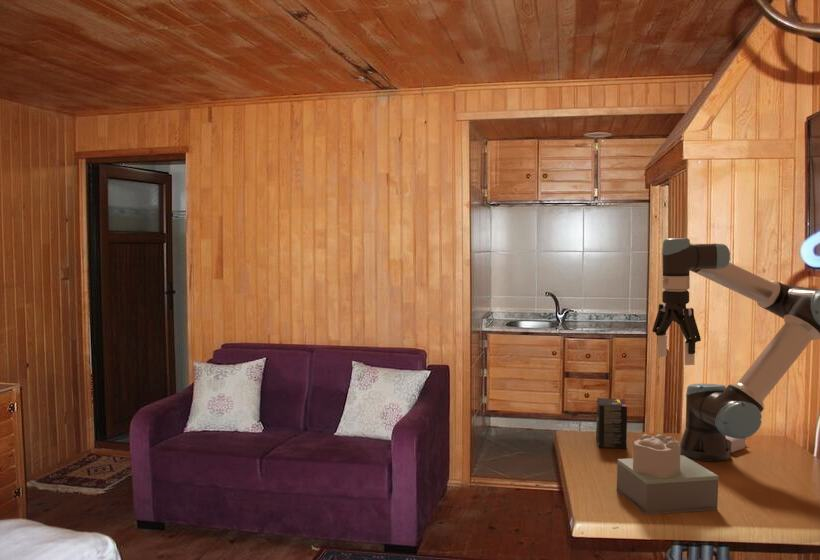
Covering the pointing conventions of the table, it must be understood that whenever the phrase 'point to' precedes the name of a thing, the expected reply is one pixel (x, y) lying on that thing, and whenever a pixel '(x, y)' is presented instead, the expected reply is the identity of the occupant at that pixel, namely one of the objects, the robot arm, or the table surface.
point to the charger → (735, 444)
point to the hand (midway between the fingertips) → (675, 360)
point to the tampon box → (611, 423)
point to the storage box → (667, 494)
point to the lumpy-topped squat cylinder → (657, 456)
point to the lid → (687, 473)
